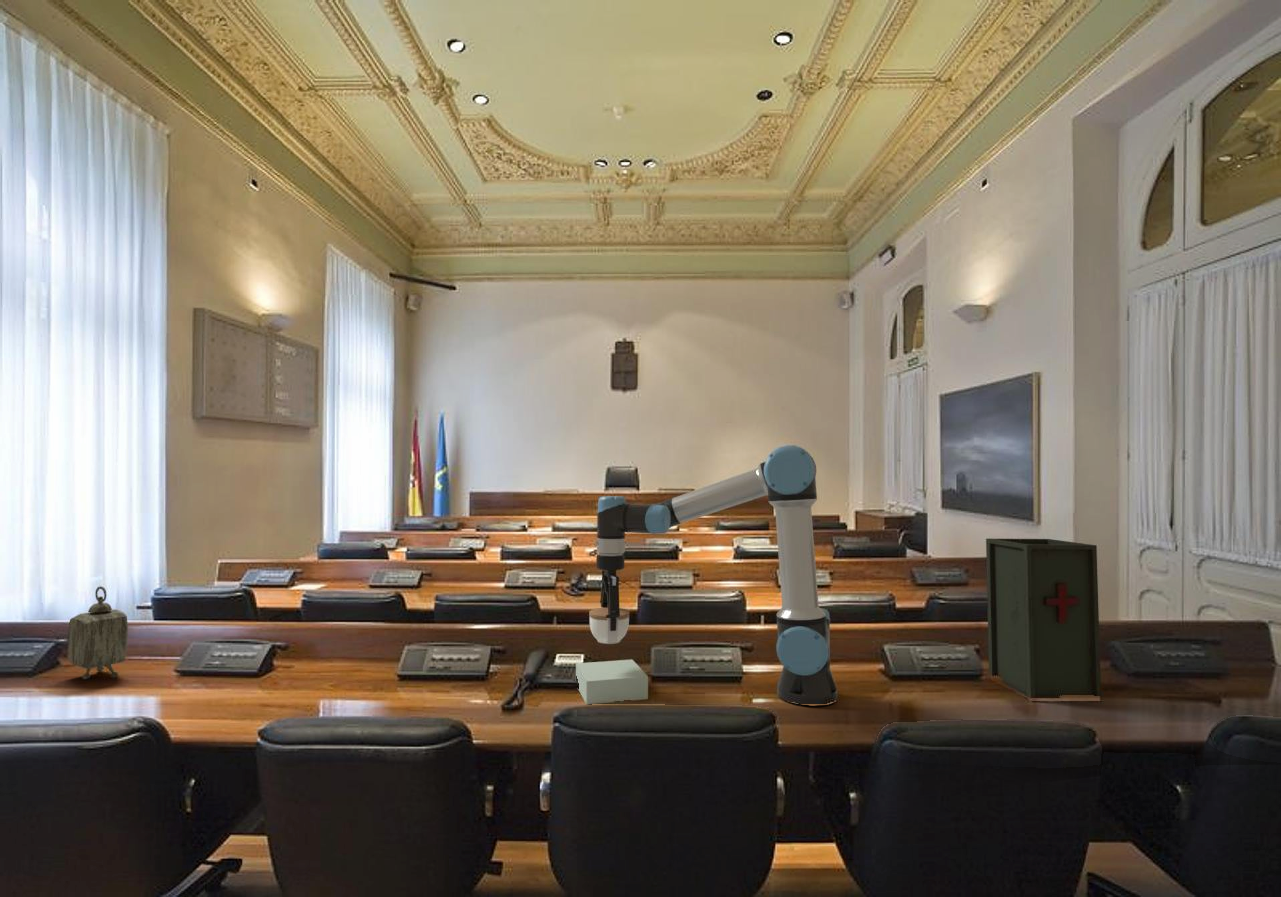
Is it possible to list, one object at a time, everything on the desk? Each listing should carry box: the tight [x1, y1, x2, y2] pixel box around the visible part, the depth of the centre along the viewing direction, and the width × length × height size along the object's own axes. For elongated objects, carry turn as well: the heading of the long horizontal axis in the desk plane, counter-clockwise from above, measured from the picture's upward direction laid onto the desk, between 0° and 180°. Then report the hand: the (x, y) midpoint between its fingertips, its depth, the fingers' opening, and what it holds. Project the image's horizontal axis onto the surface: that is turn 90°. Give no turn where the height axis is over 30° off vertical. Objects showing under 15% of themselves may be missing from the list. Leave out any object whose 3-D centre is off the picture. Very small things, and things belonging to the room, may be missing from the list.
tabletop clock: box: [67, 585, 128, 680], centre depth 175 cm, size 14×9×25 cm, turn 58°
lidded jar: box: [588, 607, 630, 645], centre depth 167 cm, size 11×11×9 cm
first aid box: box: [985, 538, 1102, 698], centre depth 171 cm, size 18×18×40 cm
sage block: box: [575, 659, 649, 705], centre depth 166 cm, size 16×16×6 cm
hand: (608, 637), depth 167 cm, fingers closed on lidded jar, 11 cm apart
